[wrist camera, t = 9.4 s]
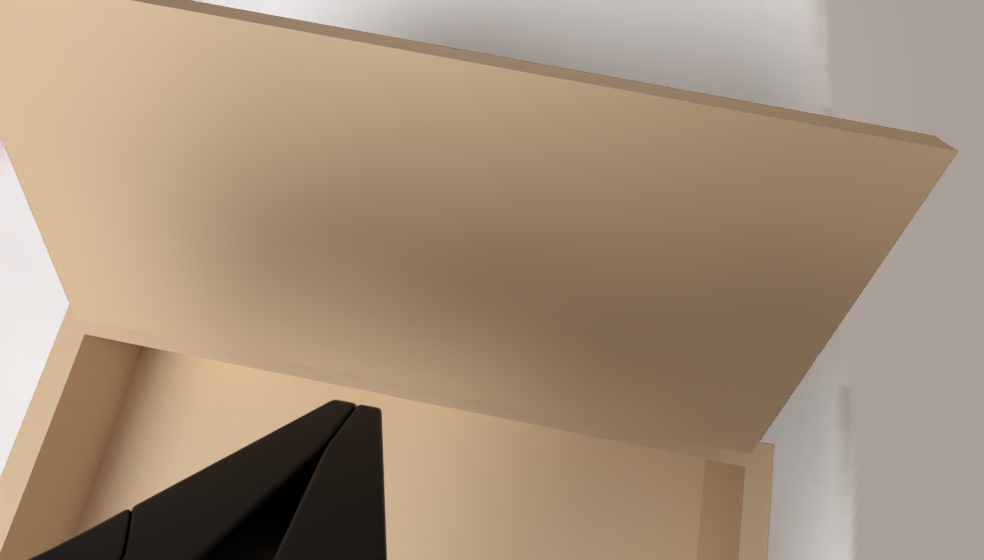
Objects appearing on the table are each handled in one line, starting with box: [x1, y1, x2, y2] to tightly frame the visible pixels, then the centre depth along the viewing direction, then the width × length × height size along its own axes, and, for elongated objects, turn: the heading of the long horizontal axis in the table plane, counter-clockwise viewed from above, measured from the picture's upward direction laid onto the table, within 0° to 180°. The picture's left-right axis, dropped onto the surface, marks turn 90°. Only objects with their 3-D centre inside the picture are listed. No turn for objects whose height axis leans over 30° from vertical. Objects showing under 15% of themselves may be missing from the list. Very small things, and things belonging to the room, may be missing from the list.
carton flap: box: [0, 0, 958, 454], centre depth 13 cm, size 1×20×9 cm
